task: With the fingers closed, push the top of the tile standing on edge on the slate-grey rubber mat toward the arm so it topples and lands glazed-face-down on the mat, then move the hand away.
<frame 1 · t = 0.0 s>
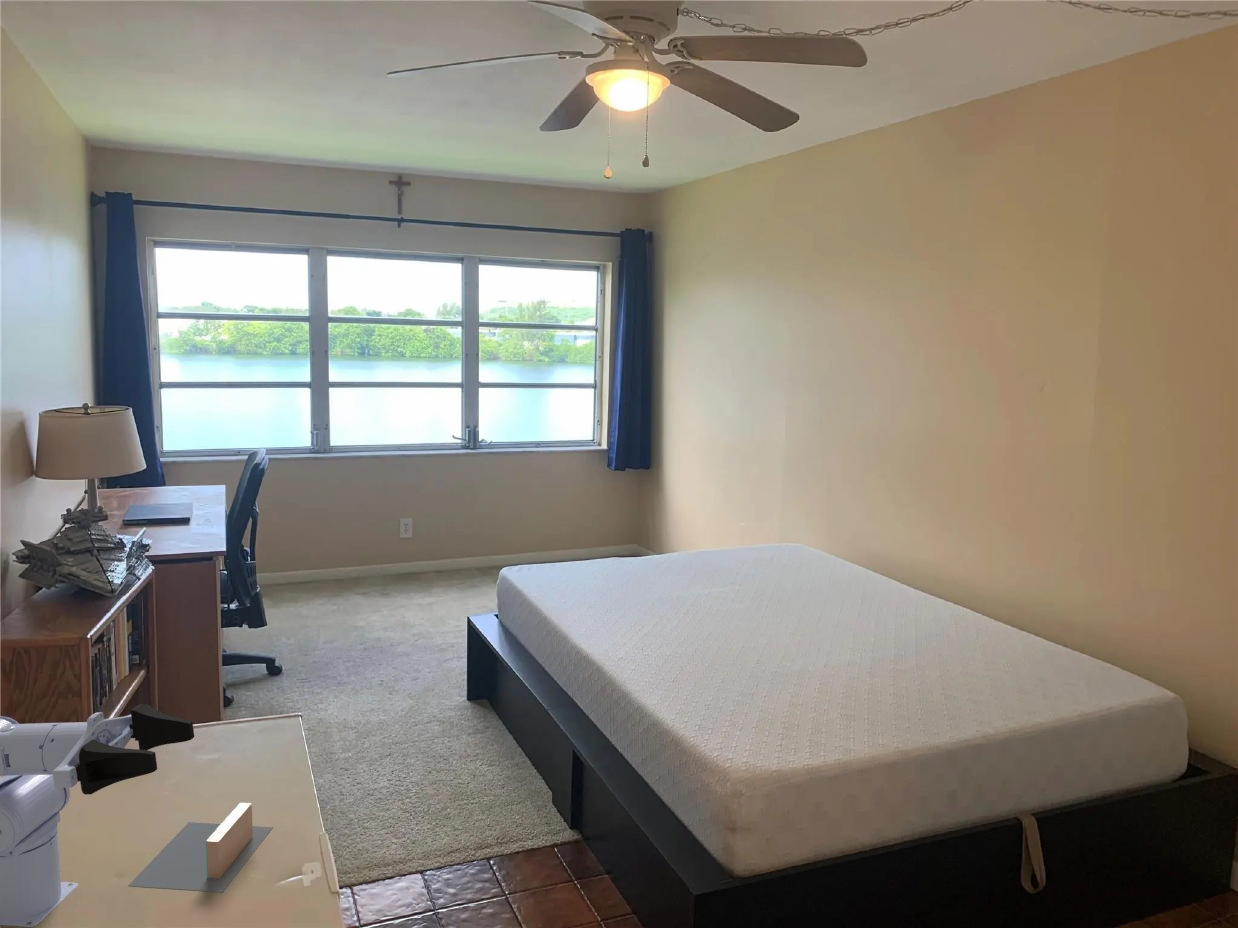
hand: (174, 745, 99), 22 cm above the table, tool horizontal, fingers open, 7 cm apart
tile: (230, 856, 113), resting on mat
mat: (204, 857, 113), on the table
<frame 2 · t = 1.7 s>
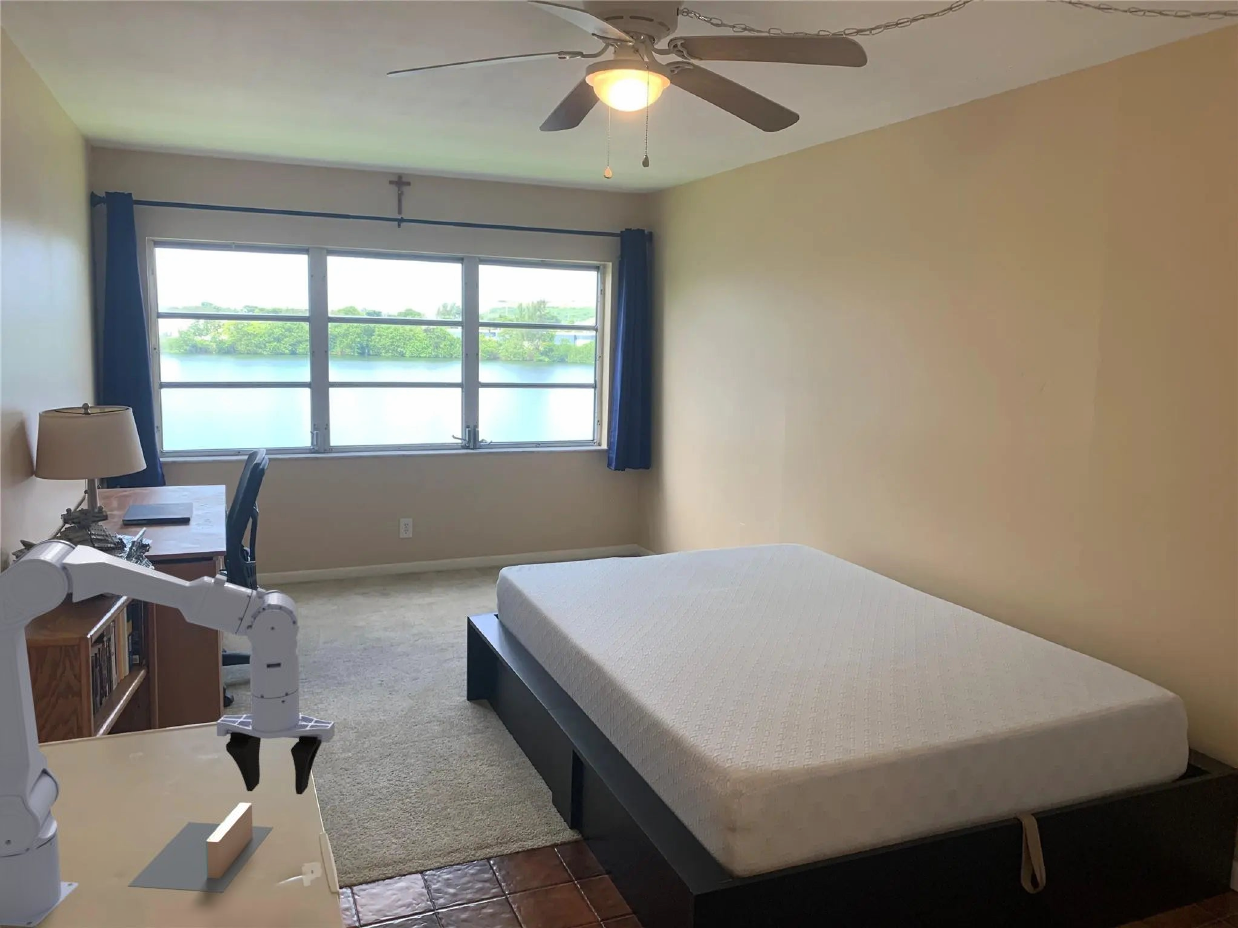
hand: (277, 788, 111), 10 cm above the table, tool pointing down, fingers open, 6 cm apart
nothing on the table moved.
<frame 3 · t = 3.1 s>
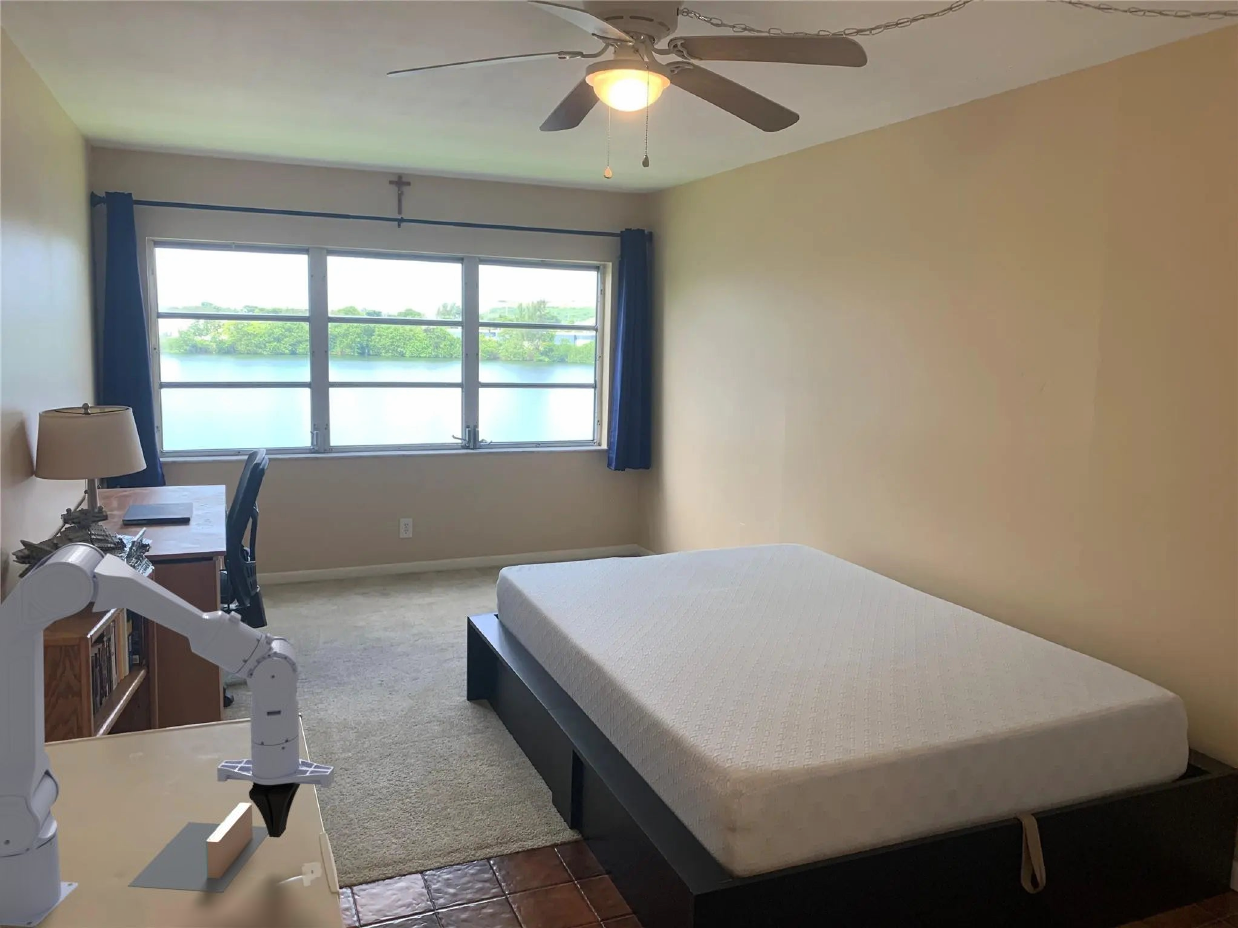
hand: (277, 832, 112), 4 cm above the table, tool pointing down, fingers closed
nothing on the table moved.
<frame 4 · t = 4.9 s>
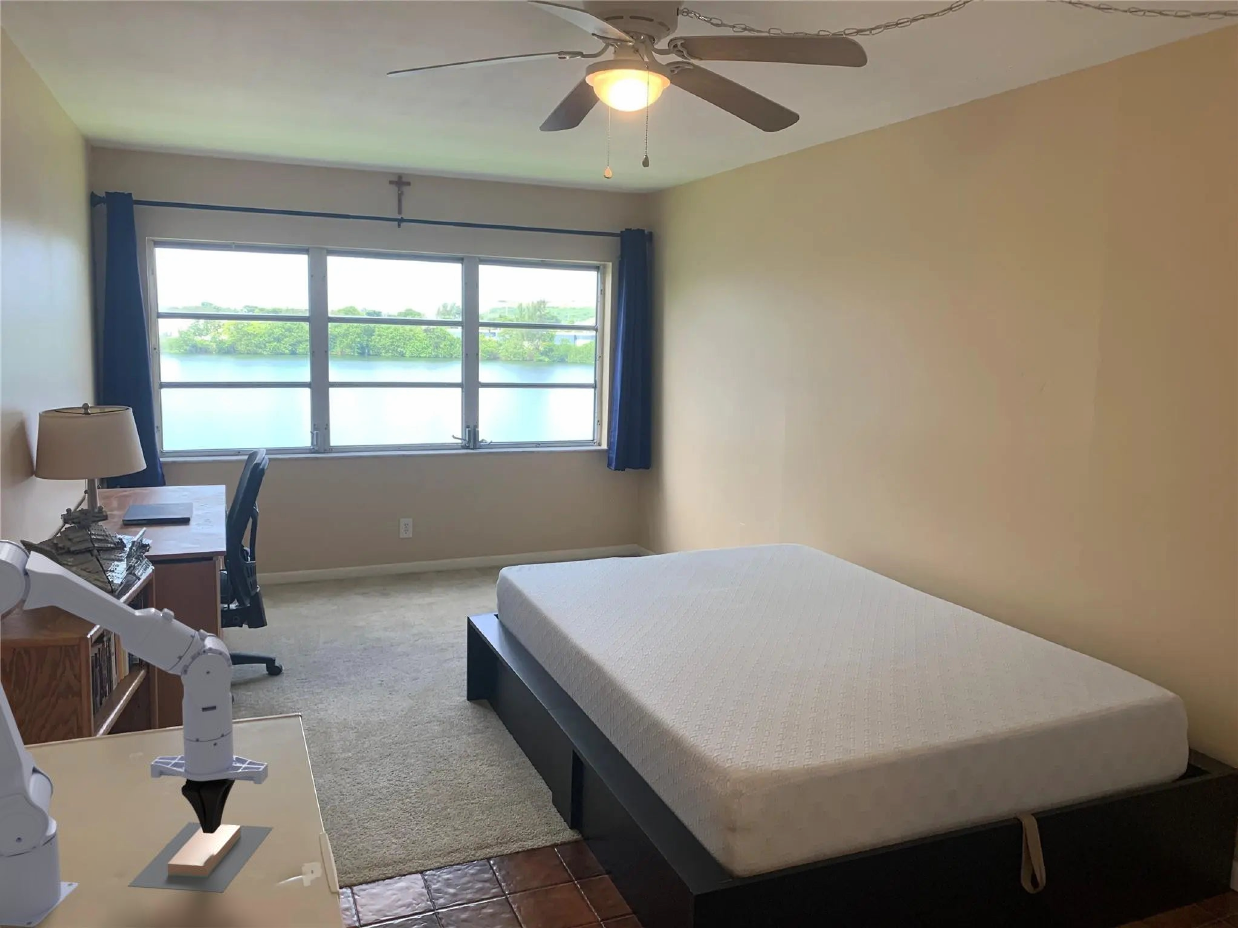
hand: (211, 828, 113), 4 cm above the table, tool pointing down, fingers closed
tile: (224, 850, 113), point 1 cm above the table, tilted 90°, touching mat
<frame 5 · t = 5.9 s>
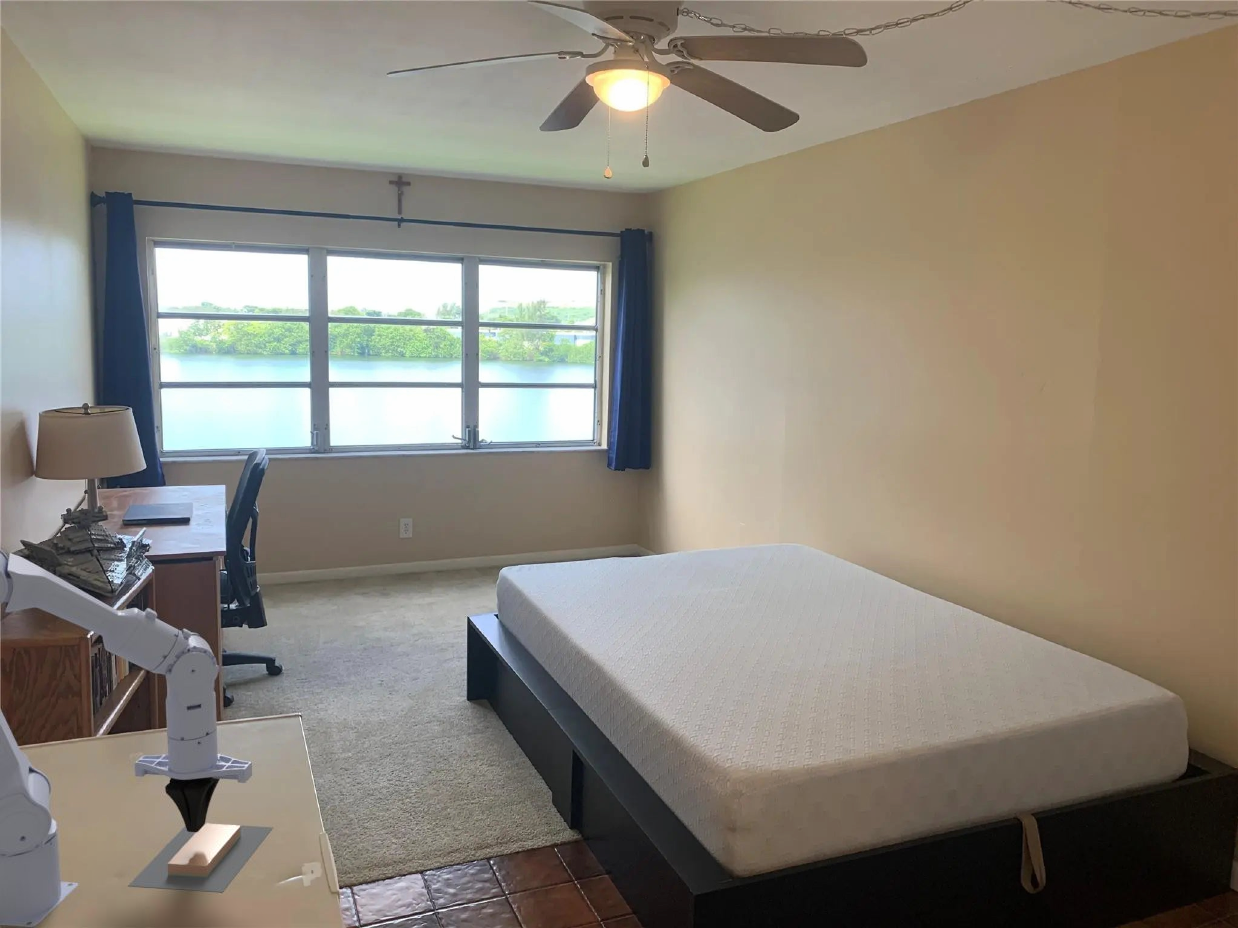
hand: (196, 827, 113), 4 cm above the table, tool pointing down, fingers closed
nothing on the table moved.
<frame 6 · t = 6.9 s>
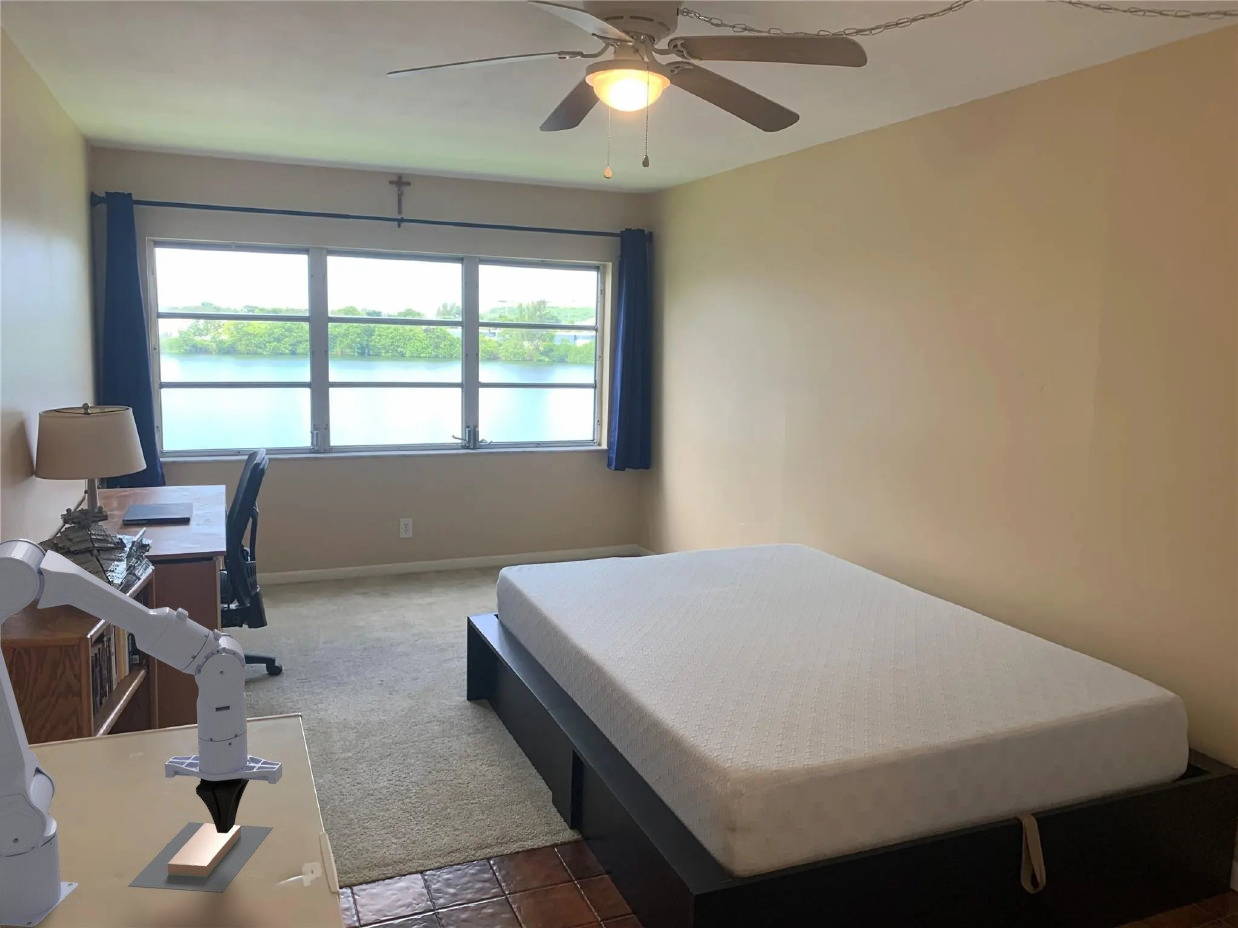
hand: (225, 828, 112), 4 cm above the table, tool pointing down, fingers closed
nothing on the table moved.
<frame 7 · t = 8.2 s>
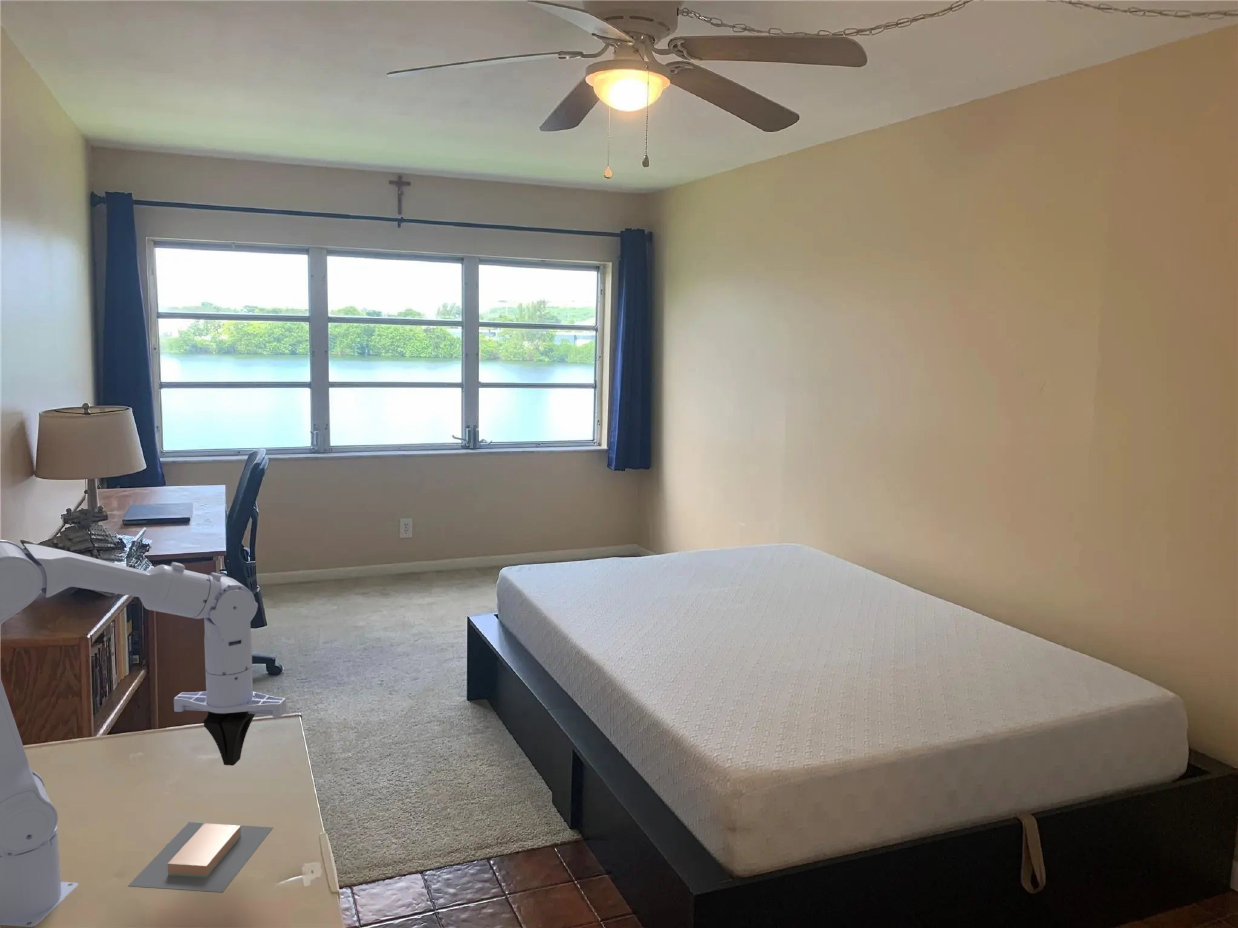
hand: (232, 761, 118), 10 cm above the table, tool pointing down, fingers closed
nothing on the table moved.
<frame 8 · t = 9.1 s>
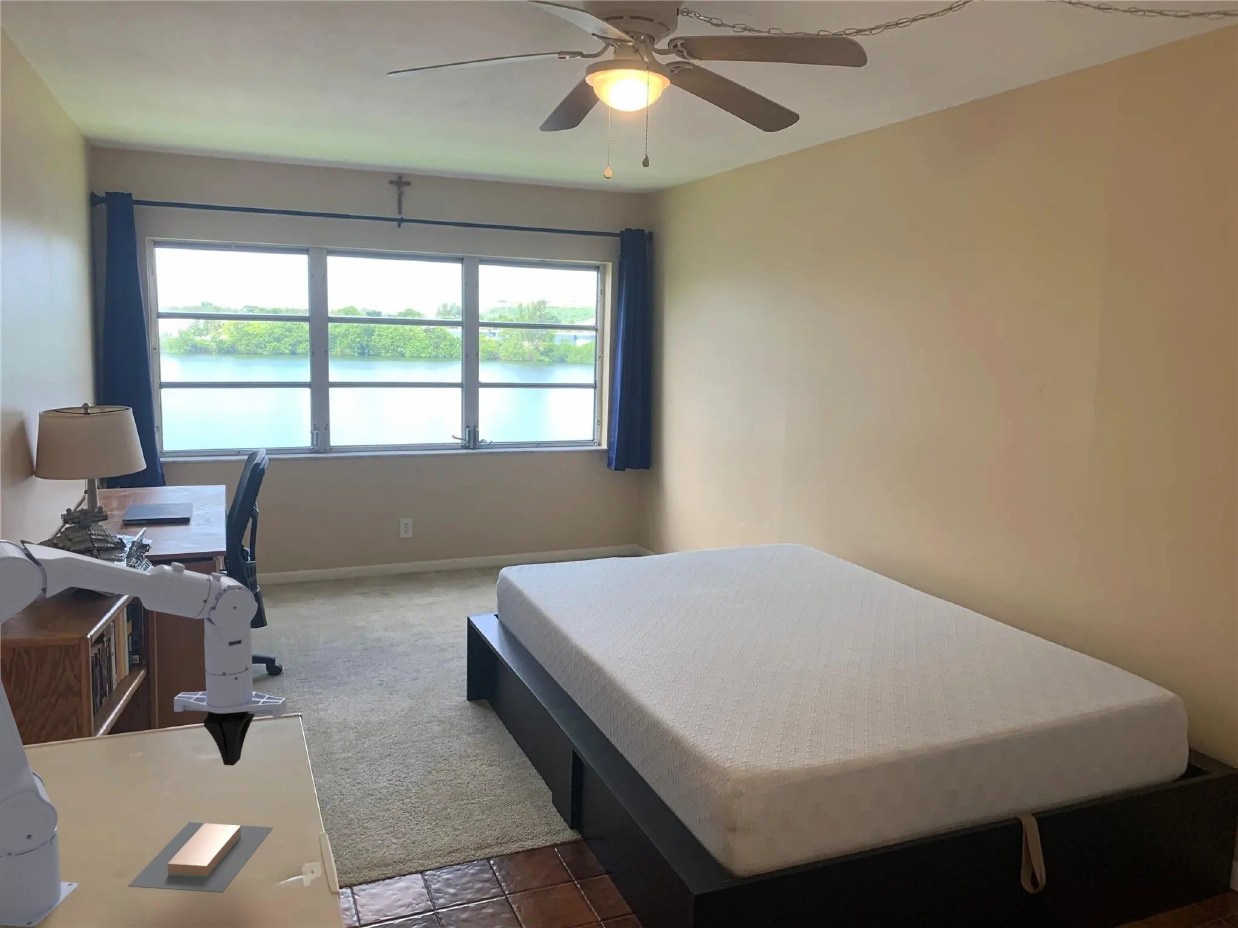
hand: (232, 761, 118), 10 cm above the table, tool pointing down, fingers closed
nothing on the table moved.
at the end: tile tilted 90°; tile inside the target area (2.7 cm from its centre), point 1.2 cm above the table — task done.
